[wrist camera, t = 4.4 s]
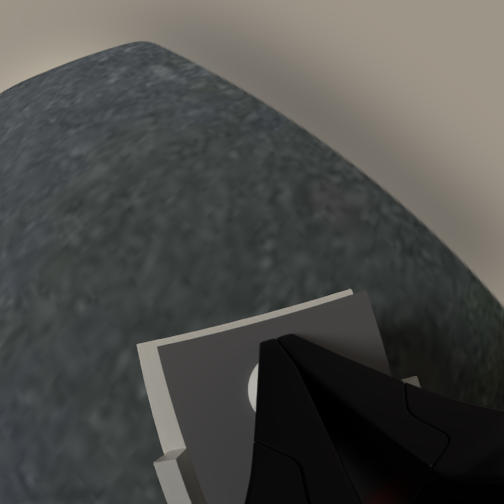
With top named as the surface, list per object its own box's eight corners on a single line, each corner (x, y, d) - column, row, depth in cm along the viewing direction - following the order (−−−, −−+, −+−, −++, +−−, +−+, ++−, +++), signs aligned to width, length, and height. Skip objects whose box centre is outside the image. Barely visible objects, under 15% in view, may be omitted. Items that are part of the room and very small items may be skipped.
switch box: (358, 485, 14) (460, 526, 5) (221, 529, 12) (220, 624, 4) (307, 332, 18) (376, 260, 10) (170, 368, 16) (114, 326, 8)
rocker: (402, 517, 7) (422, 529, 6) (247, 576, 6) (252, 598, 5) (349, 298, 9) (368, 288, 8) (164, 348, 8) (155, 346, 7)
